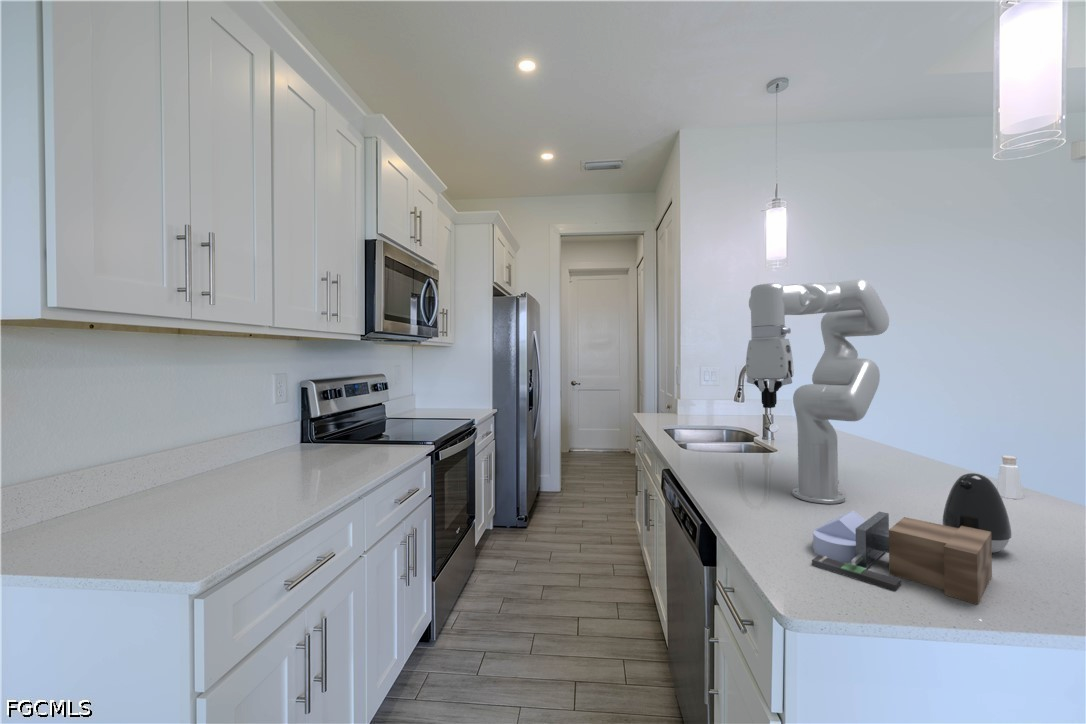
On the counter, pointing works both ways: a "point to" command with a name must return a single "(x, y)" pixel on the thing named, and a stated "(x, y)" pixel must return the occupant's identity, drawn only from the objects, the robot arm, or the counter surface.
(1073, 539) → the counter surface
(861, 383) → the robot arm
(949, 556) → the frame
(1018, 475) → the salt shaker
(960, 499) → the black egg-shaped piece
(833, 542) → the wedge on round base
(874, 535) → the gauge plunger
